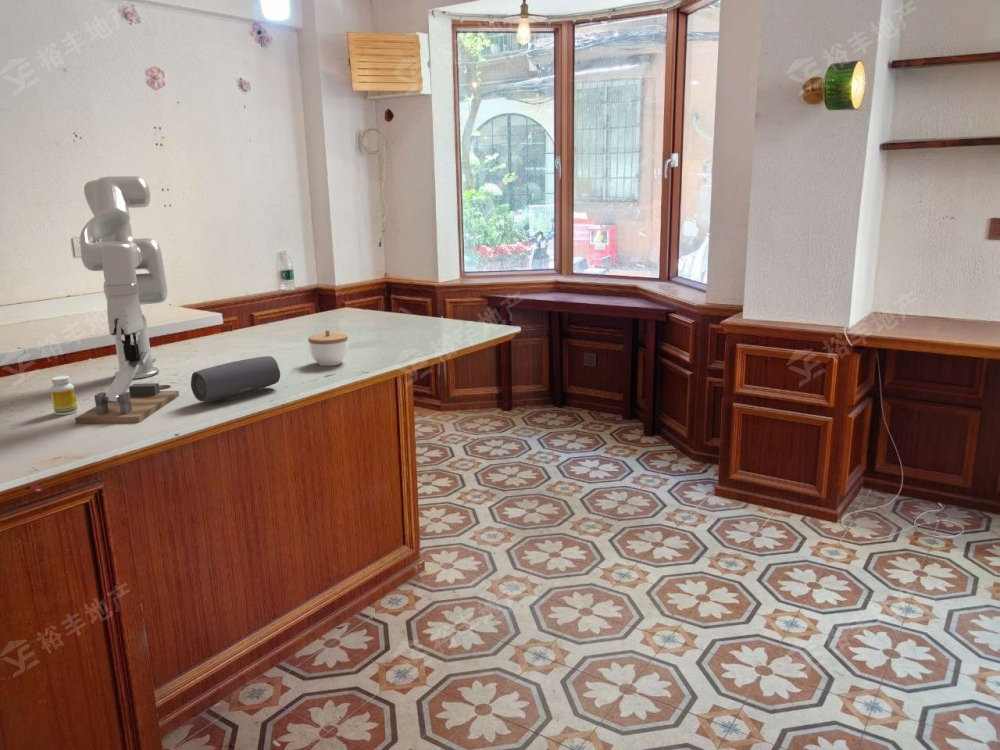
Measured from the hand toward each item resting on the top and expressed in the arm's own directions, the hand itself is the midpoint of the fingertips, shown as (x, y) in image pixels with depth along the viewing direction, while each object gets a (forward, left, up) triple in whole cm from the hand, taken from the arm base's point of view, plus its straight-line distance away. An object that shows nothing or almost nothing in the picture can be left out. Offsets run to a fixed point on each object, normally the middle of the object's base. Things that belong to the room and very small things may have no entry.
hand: (132, 358), depth 198 cm
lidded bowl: (-44, +43, -13) cm, 62 cm away
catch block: (-5, 0, -11) cm, 12 cm away
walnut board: (+4, 0, -13) cm, 13 cm away
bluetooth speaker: (-6, +25, -13) cm, 29 cm away
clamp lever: (+4, 0, -4) cm, 6 cm away
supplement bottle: (+6, -16, -13) cm, 22 cm away
